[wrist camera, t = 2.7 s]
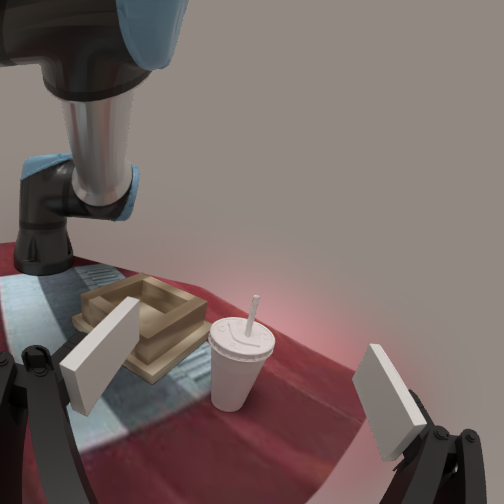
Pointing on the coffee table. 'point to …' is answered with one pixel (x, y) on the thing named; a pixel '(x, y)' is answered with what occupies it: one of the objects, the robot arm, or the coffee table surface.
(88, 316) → the wooden box
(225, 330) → the smoothie
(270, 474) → the coffee table surface
